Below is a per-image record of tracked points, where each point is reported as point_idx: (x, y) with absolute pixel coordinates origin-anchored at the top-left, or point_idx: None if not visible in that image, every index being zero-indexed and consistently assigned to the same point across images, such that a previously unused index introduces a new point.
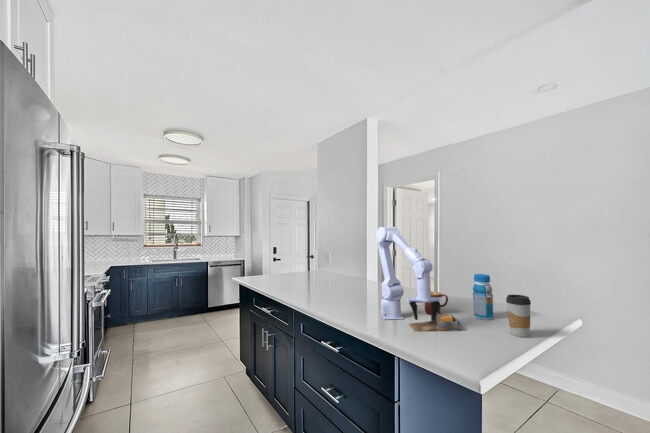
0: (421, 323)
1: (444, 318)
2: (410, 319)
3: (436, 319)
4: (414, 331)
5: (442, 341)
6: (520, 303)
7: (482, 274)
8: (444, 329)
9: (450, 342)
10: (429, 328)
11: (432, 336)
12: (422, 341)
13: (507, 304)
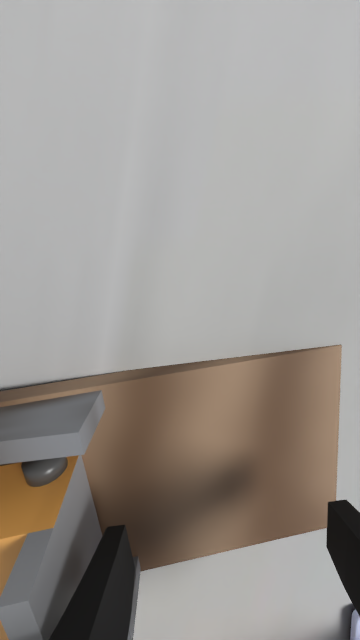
0: (233, 524)
1: None
2: (291, 612)
3: (85, 551)
4: (338, 346)
5: (109, 50)
6: None
7: None
8: (42, 388)
9: (20, 21)
10: (188, 400)
11: (192, 215)
12: (341, 23)
13: None
